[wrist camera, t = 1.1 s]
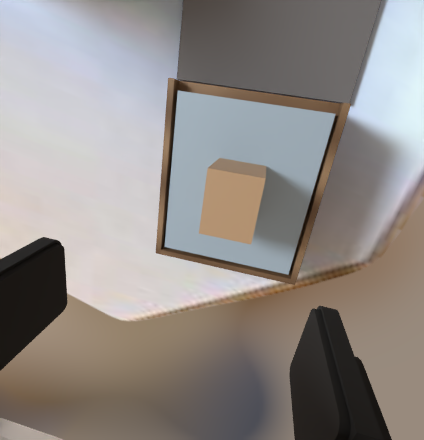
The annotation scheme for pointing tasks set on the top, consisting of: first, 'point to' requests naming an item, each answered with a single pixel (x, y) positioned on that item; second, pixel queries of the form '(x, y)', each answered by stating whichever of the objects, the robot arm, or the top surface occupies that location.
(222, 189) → the lid
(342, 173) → the top surface
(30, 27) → the top surface
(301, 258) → the walnut box
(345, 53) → the mat
